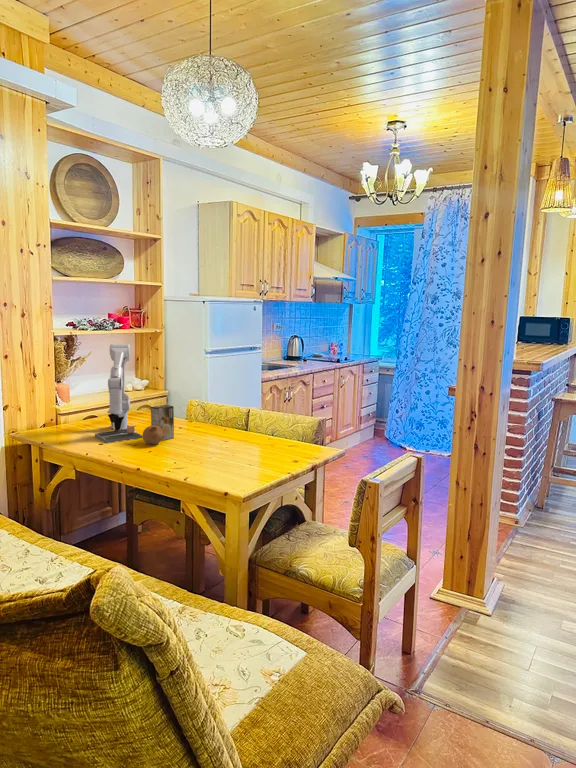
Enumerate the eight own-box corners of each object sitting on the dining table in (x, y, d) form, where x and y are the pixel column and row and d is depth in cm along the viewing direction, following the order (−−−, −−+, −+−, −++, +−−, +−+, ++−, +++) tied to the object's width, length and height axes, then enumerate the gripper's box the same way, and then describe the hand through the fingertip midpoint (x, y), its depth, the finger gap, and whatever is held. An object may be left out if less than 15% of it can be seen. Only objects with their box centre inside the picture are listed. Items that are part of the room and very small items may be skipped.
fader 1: (112, 432, 264) (112, 422, 264) (117, 431, 266) (117, 422, 265) (114, 433, 262) (114, 423, 261) (119, 433, 263) (119, 423, 262)
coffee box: (165, 436, 266) (165, 404, 264) (174, 438, 262) (174, 405, 260) (150, 439, 259) (150, 406, 257) (159, 441, 255) (159, 408, 253)
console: (94, 436, 261) (94, 431, 261) (130, 432, 272) (130, 427, 272) (105, 443, 249) (105, 437, 249) (142, 438, 260) (142, 432, 260)
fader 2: (127, 435, 259) (127, 425, 258) (132, 434, 260) (131, 424, 260) (129, 436, 256) (129, 426, 256) (134, 435, 258) (134, 426, 257)
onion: (156, 452, 248) (157, 435, 242) (138, 445, 249) (139, 428, 244) (166, 440, 256) (167, 424, 250) (148, 434, 257) (149, 417, 252)
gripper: (102, 400, 265) (103, 427, 267) (112, 404, 253) (113, 432, 255) (116, 399, 269) (117, 425, 271) (127, 403, 258) (127, 431, 260)
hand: (116, 429), depth 263 cm, fingers closed on fader 1, 3 cm apart
